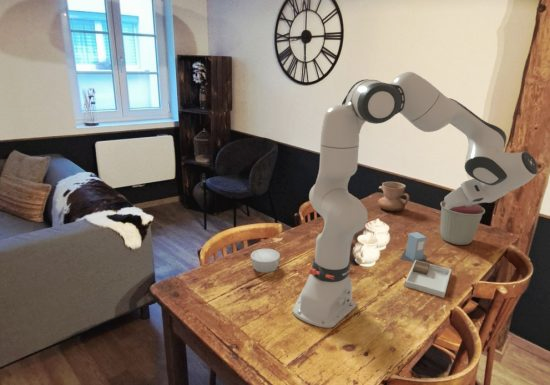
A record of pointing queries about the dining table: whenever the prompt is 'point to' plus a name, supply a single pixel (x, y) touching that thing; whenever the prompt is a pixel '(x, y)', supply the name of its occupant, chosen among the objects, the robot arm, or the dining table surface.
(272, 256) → the ramekin
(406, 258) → the mat
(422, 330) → the dining table surface
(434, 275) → the tray
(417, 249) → the blue box
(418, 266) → the walnut block
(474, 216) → the canister
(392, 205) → the ceramic jug
